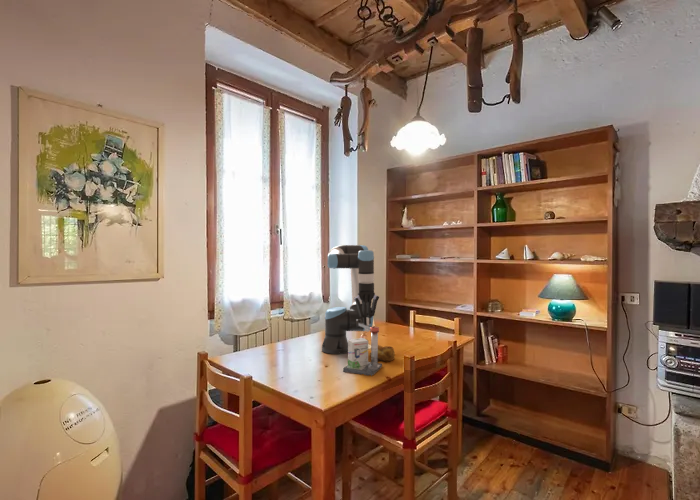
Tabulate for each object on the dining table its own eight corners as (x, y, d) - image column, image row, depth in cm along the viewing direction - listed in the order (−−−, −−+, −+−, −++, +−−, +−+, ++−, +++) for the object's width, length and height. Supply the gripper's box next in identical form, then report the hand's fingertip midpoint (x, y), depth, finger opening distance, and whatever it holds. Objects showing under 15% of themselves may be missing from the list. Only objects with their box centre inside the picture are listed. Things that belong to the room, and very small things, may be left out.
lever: (373, 335, 169) (373, 326, 169) (353, 327, 184) (354, 319, 184) (380, 334, 171) (380, 325, 171) (360, 326, 186) (361, 318, 186)
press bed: (343, 371, 170) (343, 332, 170) (354, 362, 183) (355, 326, 183) (373, 376, 164) (374, 336, 164) (383, 366, 177) (383, 329, 177)
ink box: (363, 362, 179) (363, 337, 179) (368, 365, 174) (368, 340, 174) (347, 364, 175) (347, 339, 175) (352, 367, 170) (352, 342, 170)
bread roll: (367, 360, 187) (367, 344, 187) (374, 355, 196) (374, 340, 196) (392, 363, 182) (392, 347, 182) (397, 358, 191) (397, 342, 191)
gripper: (374, 280, 185) (375, 327, 186) (351, 282, 180) (351, 330, 181) (381, 282, 179) (382, 331, 179) (357, 283, 174) (358, 334, 174)
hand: (366, 330), depth 180 cm, fingers closed
